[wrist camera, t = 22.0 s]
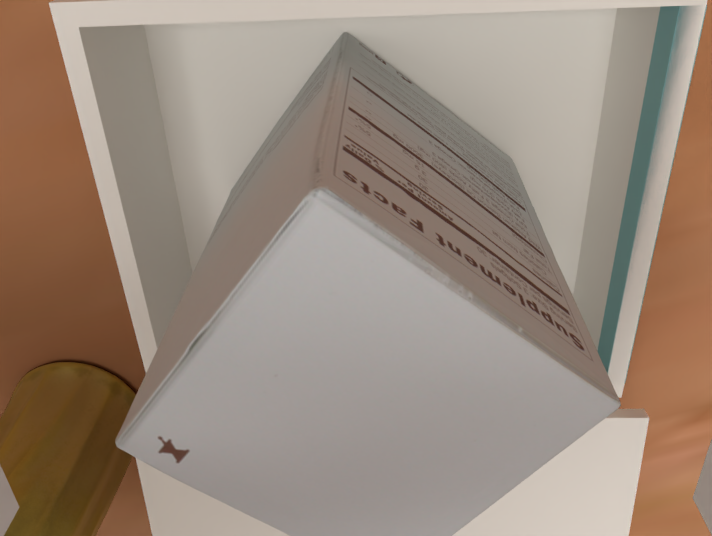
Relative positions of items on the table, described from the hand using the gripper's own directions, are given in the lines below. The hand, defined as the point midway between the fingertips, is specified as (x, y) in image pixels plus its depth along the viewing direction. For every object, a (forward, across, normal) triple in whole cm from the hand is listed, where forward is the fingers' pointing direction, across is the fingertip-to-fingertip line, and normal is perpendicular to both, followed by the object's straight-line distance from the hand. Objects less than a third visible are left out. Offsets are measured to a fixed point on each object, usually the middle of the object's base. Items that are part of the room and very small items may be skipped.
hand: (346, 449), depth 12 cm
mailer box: (+14, +1, 0) cm, 14 cm away
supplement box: (+14, 0, 0) cm, 14 cm away
